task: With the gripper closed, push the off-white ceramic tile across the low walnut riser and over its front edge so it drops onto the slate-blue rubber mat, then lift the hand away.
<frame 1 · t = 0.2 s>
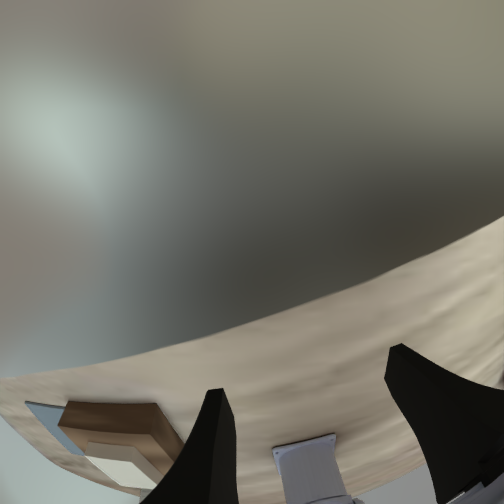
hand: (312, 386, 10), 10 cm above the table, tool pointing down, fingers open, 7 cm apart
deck: (133, 436, 25), on the table
tile: (127, 461, 21), point 4 cm above the table, touching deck
mat: (71, 433, 25), on the table
syrup box: (161, 492, 33), on the table
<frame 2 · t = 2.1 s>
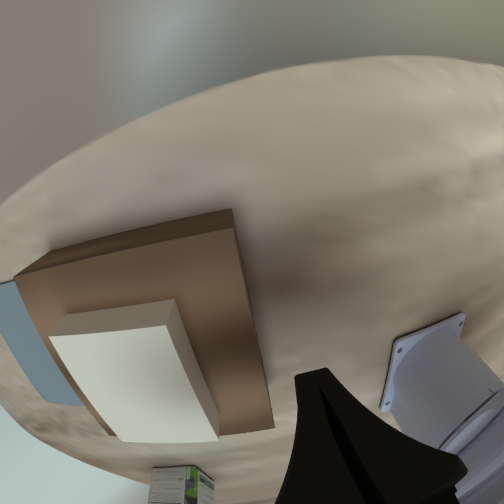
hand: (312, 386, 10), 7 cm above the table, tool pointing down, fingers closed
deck: (158, 329, 16), on the table
tile: (144, 372, 13), point 4 cm above the table, touching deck
mat: (44, 350, 16), on the table
syrup box: (183, 473, 24), on the table
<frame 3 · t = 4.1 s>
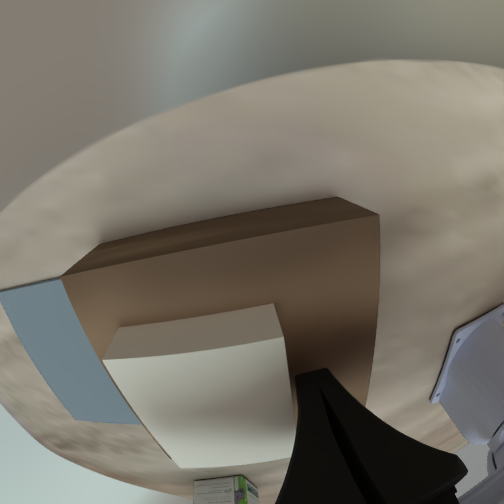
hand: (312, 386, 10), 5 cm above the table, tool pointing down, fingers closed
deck: (239, 334, 15), on the table
tile: (217, 390, 11), point 4 cm above the table, touching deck
mat: (80, 363, 15), on the table
syrup box: (226, 484, 22), on the table
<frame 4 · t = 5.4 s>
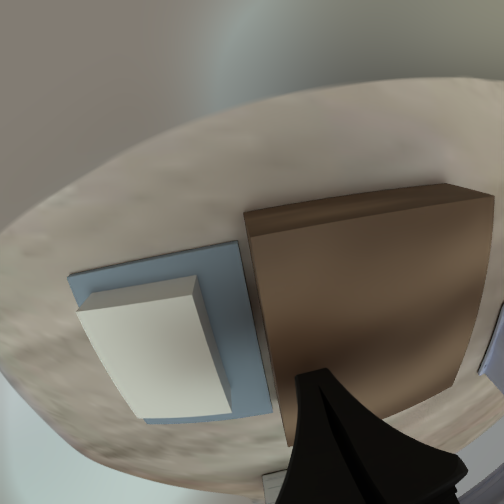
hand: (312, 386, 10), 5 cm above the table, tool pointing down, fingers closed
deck: (365, 305, 15), on the table
tile: (157, 371, 12), point 2 cm above the table, tilted 180°, touching mat
mat: (178, 356, 15), on the table
syrup box: (291, 475, 23), on the table
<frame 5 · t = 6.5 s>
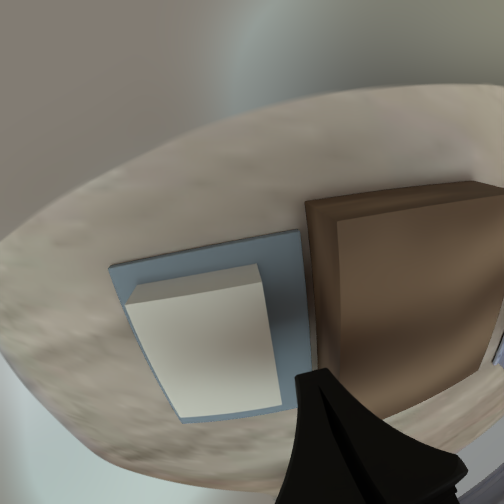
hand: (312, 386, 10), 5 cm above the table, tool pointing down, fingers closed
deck: (405, 293, 15), on the table
tile: (212, 366, 12), point 2 cm above the table, tilted 180°, touching mat
mat: (226, 350, 15), on the table
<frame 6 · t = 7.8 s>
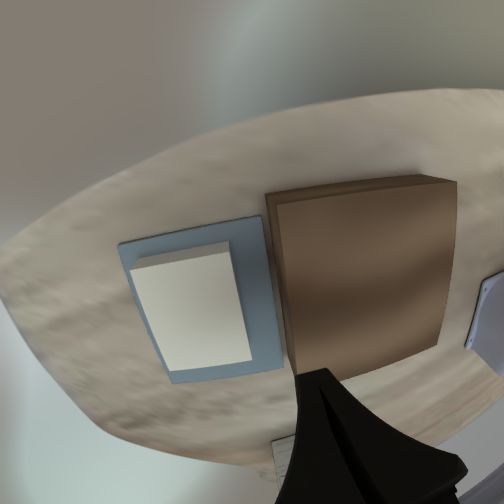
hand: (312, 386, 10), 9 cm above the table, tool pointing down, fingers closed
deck: (358, 270, 19), on the table
tile: (194, 320, 17), point 2 cm above the table, tilted 180°, touching mat
mat: (207, 313, 19), on the table
syrup box: (297, 442, 27), on the table
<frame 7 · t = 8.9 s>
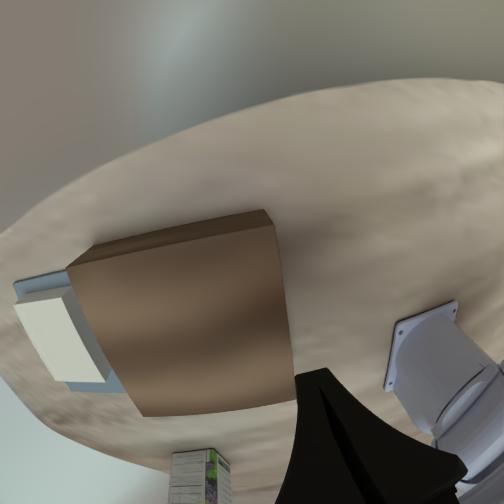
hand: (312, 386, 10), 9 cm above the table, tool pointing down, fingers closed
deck: (195, 314, 19), on the table
tile: (56, 345, 17), point 2 cm above the table, tilted 180°, touching mat
mat: (77, 339, 19), on the table
syrup box: (201, 458, 27), on the table
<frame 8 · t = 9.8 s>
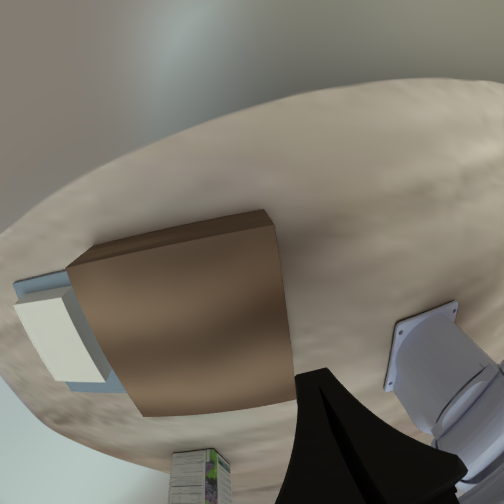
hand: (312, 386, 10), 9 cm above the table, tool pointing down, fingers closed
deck: (195, 314, 19), on the table
tile: (56, 345, 17), point 2 cm above the table, tilted 180°, touching mat
mat: (77, 339, 19), on the table
syrup box: (201, 458, 27), on the table
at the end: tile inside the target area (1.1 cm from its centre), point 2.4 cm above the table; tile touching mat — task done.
